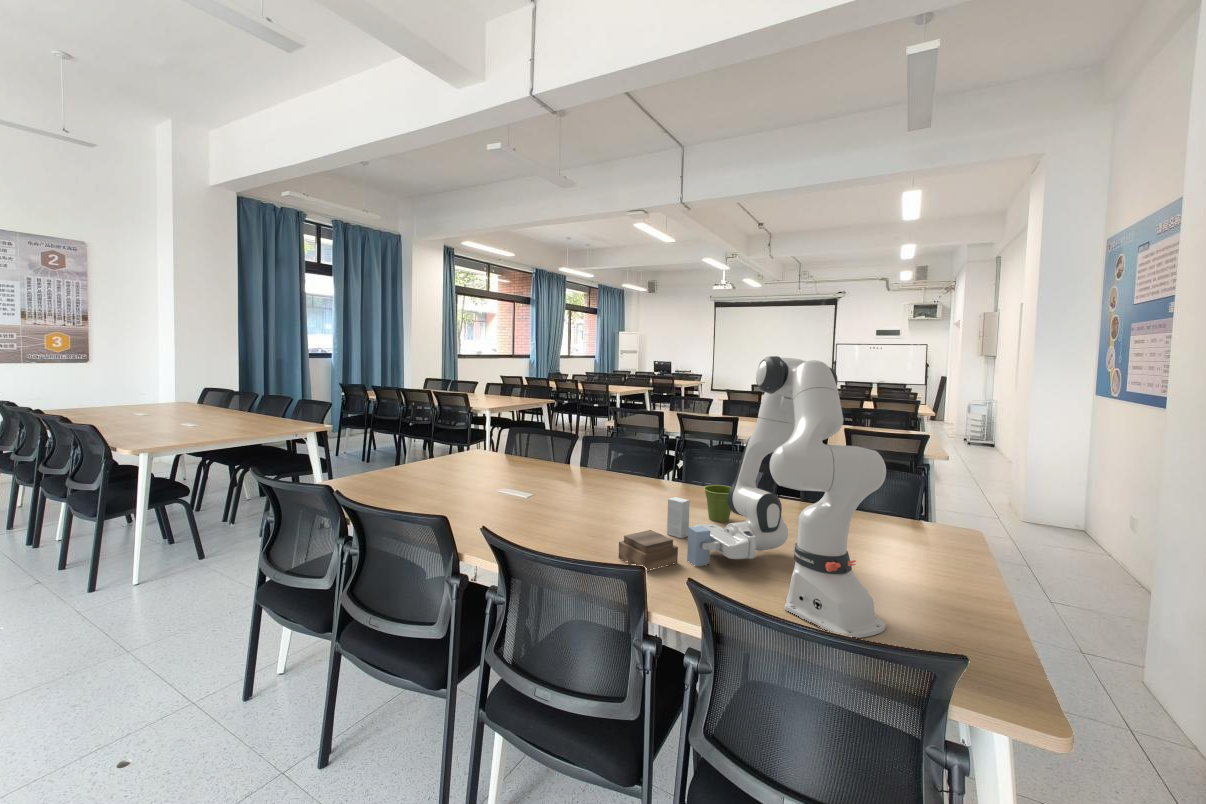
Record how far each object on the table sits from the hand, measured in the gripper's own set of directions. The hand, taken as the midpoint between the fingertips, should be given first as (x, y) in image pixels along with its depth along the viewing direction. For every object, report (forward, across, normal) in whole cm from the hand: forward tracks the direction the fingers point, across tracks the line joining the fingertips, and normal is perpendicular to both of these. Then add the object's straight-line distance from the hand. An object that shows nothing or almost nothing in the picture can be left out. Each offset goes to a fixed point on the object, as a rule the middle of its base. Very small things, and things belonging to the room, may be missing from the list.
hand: (696, 542), depth 155 cm
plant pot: (-30, -34, +6) cm, 46 cm away
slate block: (-1, 0, +6) cm, 6 cm away
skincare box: (-7, -23, +6) cm, 25 cm away
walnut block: (+12, -6, +6) cm, 15 cm away
